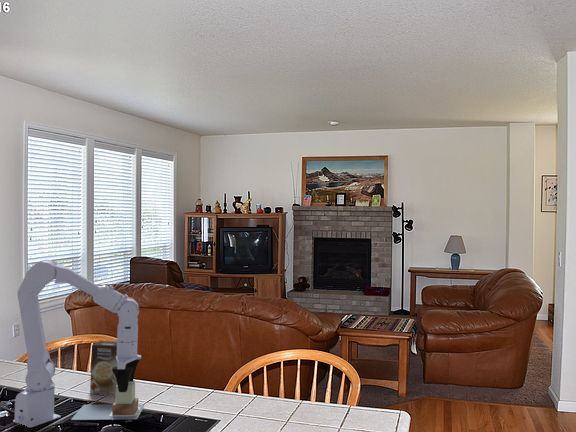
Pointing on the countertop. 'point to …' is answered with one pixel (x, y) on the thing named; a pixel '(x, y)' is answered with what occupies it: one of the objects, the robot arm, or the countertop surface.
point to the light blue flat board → (103, 413)
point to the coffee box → (103, 368)
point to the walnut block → (125, 408)
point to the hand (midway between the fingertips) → (125, 387)
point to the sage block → (126, 394)
